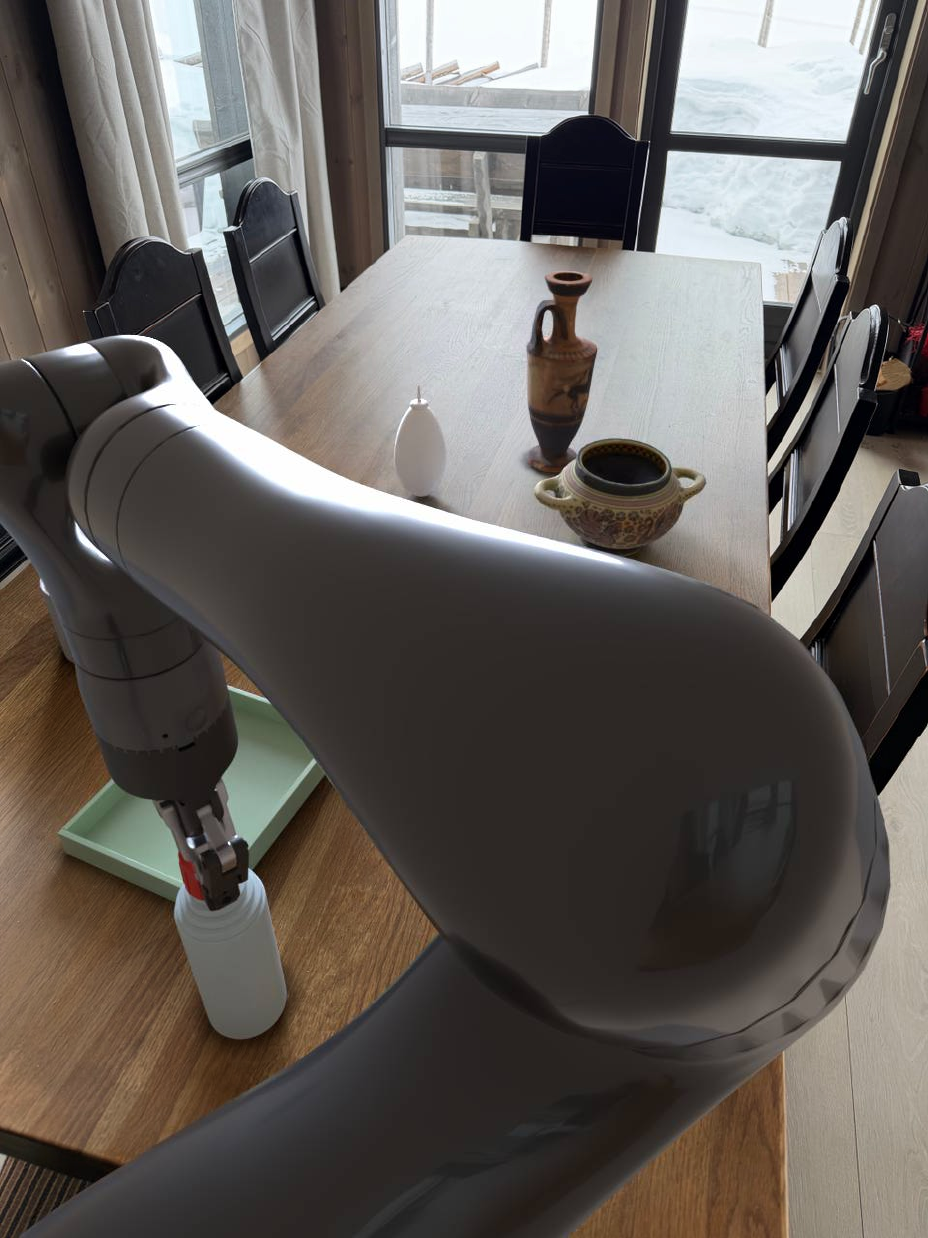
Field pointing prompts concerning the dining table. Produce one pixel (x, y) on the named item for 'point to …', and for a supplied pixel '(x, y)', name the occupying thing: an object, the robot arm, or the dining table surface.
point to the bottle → (234, 960)
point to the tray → (258, 804)
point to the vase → (558, 373)
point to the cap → (190, 878)
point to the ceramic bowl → (619, 494)
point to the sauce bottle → (420, 449)
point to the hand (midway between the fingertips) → (210, 878)
